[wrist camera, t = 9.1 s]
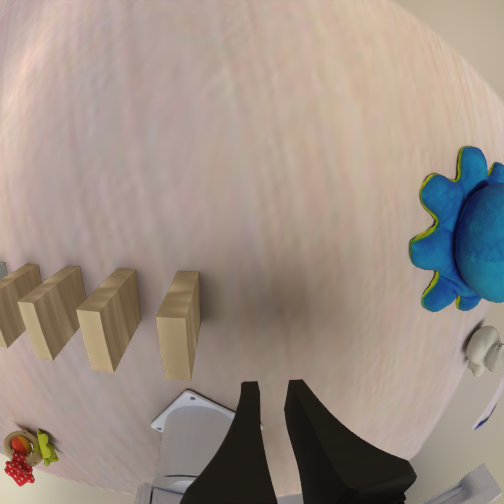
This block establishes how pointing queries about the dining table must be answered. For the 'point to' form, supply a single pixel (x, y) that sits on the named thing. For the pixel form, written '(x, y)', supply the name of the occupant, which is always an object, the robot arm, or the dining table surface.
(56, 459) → the bird rattle
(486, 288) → the plush toy
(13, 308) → the domino
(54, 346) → the domino
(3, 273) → the domino
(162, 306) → the domino
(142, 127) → the dining table surface
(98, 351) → the domino
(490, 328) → the grey swirl figurine
